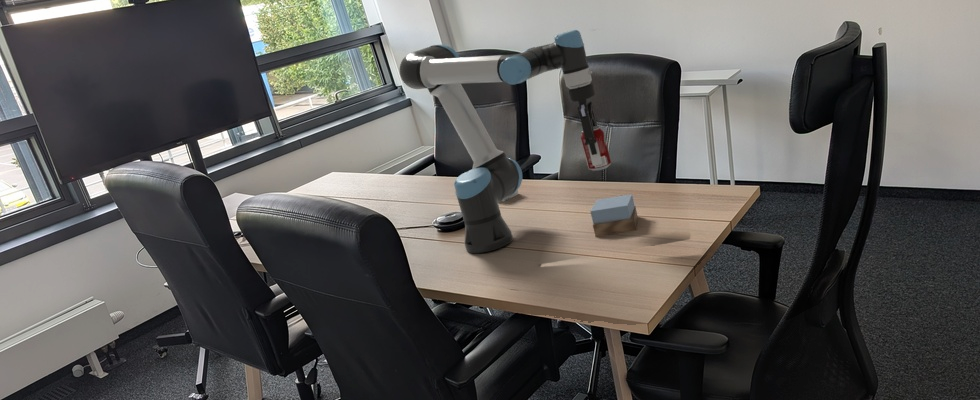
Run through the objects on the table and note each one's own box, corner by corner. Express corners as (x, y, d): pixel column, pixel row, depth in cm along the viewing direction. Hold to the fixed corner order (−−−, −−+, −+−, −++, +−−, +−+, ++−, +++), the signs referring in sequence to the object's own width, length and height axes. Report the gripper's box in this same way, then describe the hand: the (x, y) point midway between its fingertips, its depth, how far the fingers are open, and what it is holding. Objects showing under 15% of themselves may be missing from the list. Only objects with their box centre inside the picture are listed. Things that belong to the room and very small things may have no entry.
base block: (595, 238, 219) (592, 225, 218) (599, 224, 231) (596, 212, 230) (636, 231, 216) (633, 218, 215) (638, 218, 227) (635, 205, 226)
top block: (593, 224, 220) (590, 211, 219) (599, 212, 230) (596, 199, 229) (630, 218, 216) (627, 205, 215) (634, 206, 226) (632, 194, 225)
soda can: (611, 168, 215) (601, 128, 212) (588, 173, 217) (578, 133, 214) (612, 162, 222) (602, 123, 219) (589, 167, 223) (580, 129, 221)
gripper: (589, 87, 203) (608, 167, 209) (595, 77, 222) (613, 151, 227) (562, 93, 206) (582, 172, 211) (571, 83, 224) (589, 156, 229)
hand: (598, 161), depth 219 cm, fingers closed on soda can, 7 cm apart
